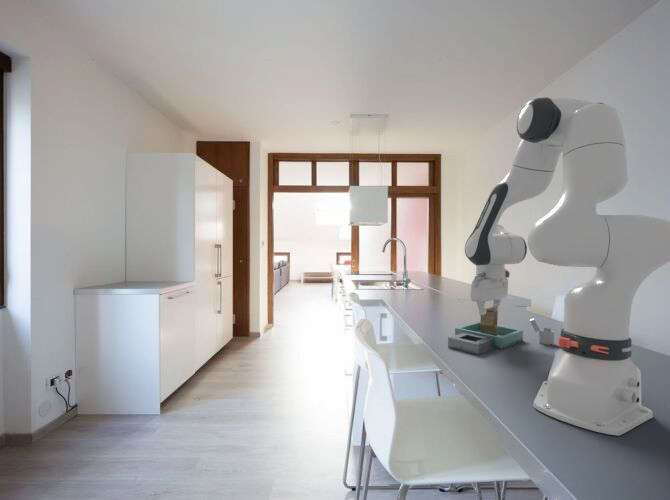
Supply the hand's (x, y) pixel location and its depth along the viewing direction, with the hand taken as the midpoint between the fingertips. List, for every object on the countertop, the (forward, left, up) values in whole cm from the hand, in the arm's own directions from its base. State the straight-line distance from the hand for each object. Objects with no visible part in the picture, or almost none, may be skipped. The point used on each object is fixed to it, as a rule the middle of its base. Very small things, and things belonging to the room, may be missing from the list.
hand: (489, 313), depth 119 cm
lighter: (+10, -13, -9) cm, 19 cm away
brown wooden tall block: (0, 0, -8) cm, 8 cm away
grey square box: (-14, -1, -9) cm, 16 cm away
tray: (0, 0, -9) cm, 9 cm away
